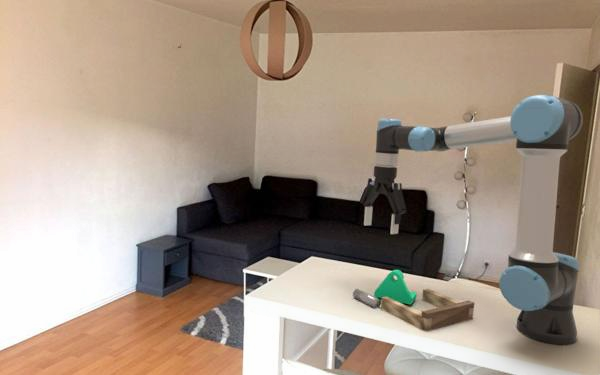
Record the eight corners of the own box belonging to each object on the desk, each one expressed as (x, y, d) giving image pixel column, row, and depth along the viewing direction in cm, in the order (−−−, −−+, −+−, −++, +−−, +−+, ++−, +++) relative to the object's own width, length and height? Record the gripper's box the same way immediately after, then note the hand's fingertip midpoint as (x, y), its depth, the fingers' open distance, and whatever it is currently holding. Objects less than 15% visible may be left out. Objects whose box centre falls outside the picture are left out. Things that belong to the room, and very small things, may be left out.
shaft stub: (379, 308, 147) (382, 299, 147) (372, 308, 146) (375, 298, 146) (358, 298, 156) (360, 289, 156) (351, 297, 154) (354, 288, 154)
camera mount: (416, 300, 155) (419, 270, 154) (410, 307, 149) (413, 275, 147) (381, 292, 161) (383, 263, 160) (373, 299, 154) (376, 268, 153)
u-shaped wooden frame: (472, 318, 142) (474, 302, 142) (425, 331, 131) (427, 313, 131) (426, 298, 157) (427, 284, 156) (380, 308, 146) (382, 292, 146)
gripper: (421, 170, 150) (415, 236, 153) (369, 162, 171) (365, 221, 173) (404, 170, 146) (398, 238, 149) (353, 162, 167) (348, 222, 169)
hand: (380, 229), depth 161 cm, fingers open, 12 cm apart
